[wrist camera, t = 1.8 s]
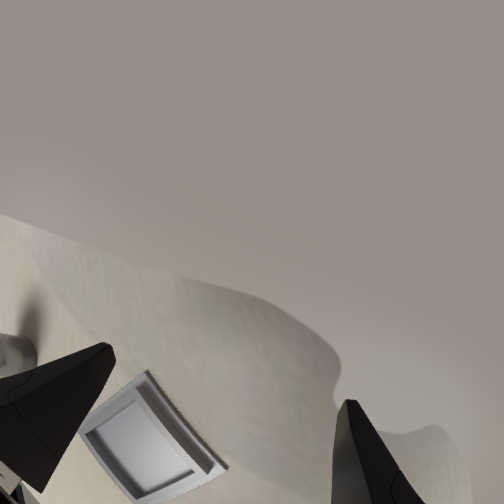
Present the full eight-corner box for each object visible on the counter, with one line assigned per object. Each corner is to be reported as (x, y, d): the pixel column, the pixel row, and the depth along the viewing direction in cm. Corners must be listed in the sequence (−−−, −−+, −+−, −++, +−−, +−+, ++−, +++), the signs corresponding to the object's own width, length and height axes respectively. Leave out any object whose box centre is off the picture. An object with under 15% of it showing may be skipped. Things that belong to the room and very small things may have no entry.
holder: (145, 507, 17) (137, 515, 16) (78, 423, 21) (67, 426, 19) (227, 469, 19) (223, 477, 17) (146, 371, 23) (136, 373, 21)
